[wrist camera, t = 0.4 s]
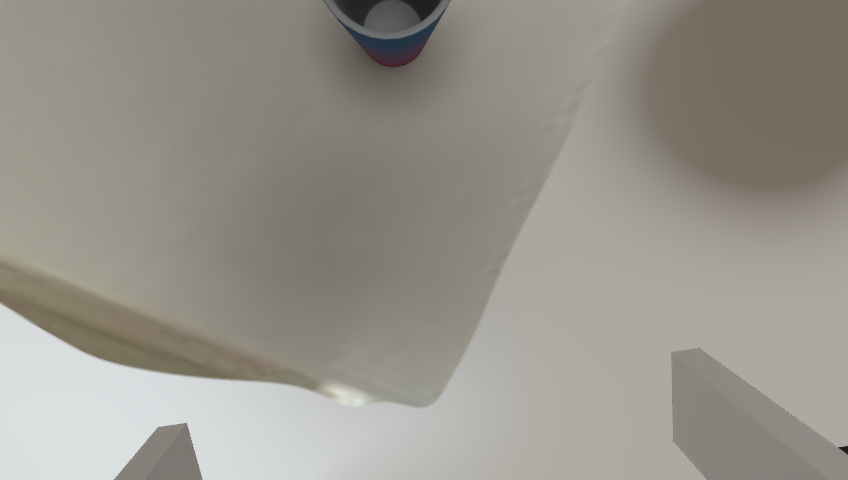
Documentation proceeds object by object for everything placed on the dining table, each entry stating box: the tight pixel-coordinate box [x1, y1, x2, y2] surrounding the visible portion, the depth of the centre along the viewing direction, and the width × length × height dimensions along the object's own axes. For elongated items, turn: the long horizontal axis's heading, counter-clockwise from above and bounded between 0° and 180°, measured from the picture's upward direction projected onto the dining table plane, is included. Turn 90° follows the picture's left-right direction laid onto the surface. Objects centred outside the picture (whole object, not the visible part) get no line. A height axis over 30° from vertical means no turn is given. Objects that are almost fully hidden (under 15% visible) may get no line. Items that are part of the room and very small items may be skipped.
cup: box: [323, 0, 450, 67], centre depth 29 cm, size 7×7×15 cm
